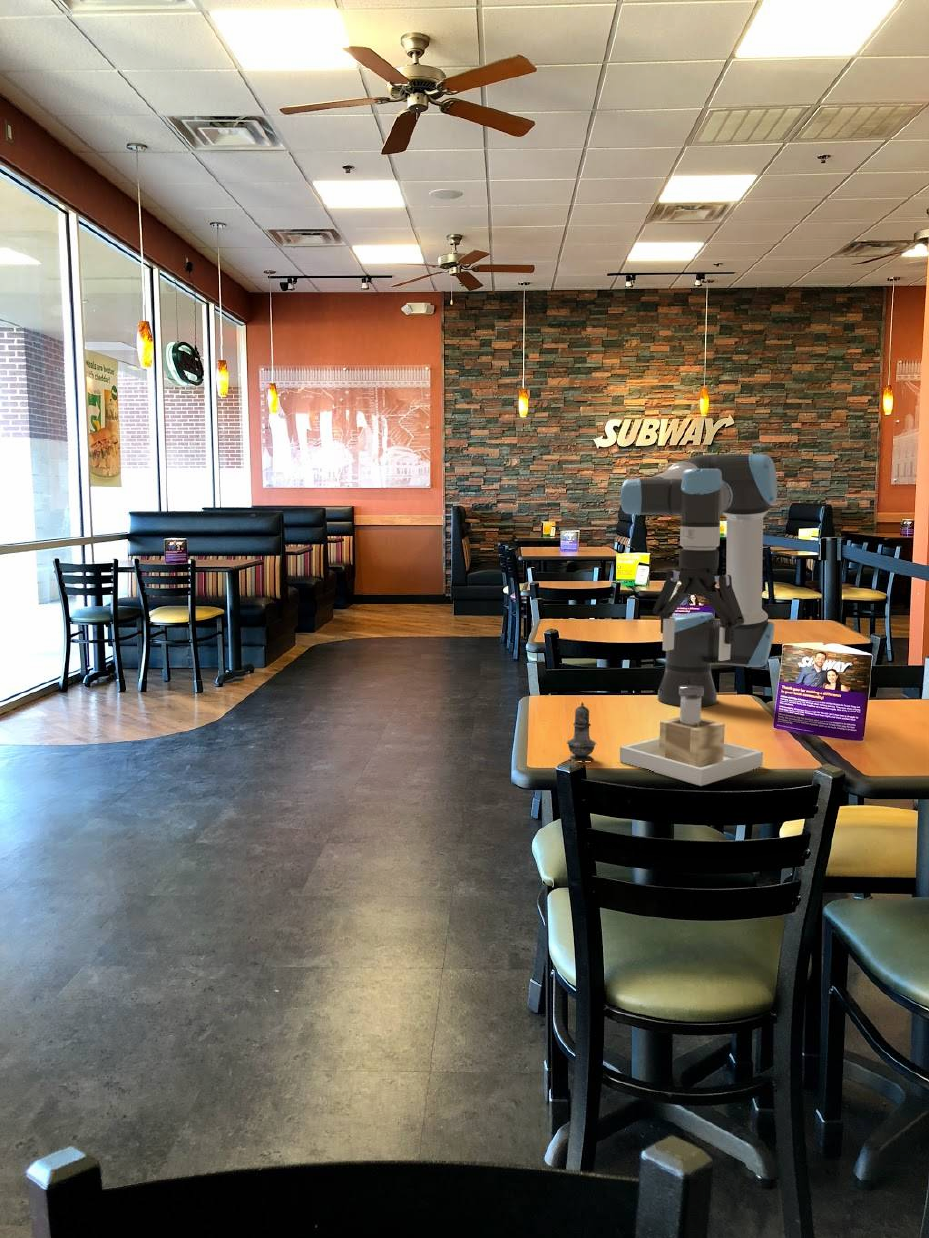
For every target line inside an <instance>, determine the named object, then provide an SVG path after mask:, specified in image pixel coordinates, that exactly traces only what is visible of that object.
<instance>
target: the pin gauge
mask: <svg viewBox="0 0 929 1238" xmlns="http://www.w3.org/2000/svg"><path fill="white" fill-rule="evenodd" d="M679 695H681V706H679V707H680V709H679V710H680V712H679V717H680V724H681V725H685V726H690V727H694V728H697V727H700V718H701V717H702V715H701V712H702V706H701V696H703V695H704V687H701V686H693V685H682V686H679Z"/></svg>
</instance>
